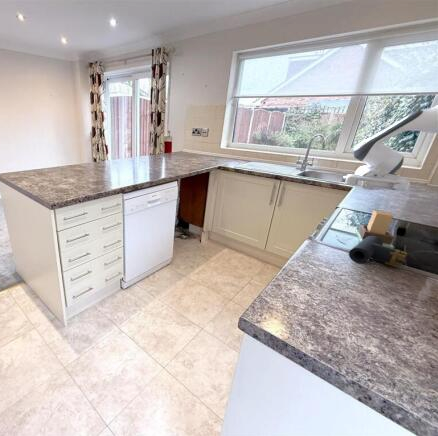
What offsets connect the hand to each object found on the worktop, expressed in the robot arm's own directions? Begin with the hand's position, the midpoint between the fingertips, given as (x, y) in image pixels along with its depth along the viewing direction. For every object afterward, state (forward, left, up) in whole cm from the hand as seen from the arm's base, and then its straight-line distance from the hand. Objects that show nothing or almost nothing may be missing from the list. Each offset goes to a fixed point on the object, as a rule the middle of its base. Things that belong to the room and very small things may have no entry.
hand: (379, 186), depth 98 cm
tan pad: (+9, +11, -17) cm, 22 cm away
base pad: (+9, +11, -18) cm, 23 cm away
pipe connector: (+22, +23, -18) cm, 37 cm away
